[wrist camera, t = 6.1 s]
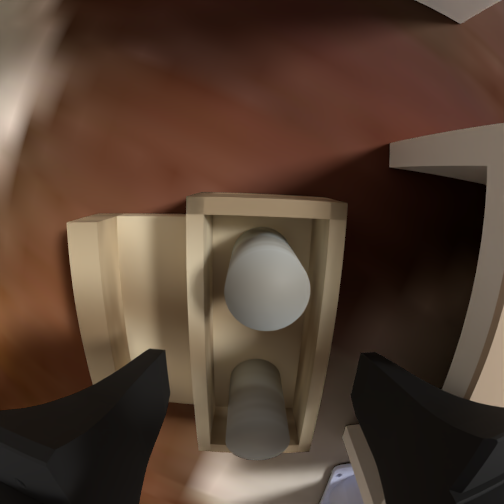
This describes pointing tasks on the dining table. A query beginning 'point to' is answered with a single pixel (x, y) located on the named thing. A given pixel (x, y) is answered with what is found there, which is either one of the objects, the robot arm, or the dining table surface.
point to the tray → (219, 309)
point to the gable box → (459, 7)
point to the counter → (485, 284)
